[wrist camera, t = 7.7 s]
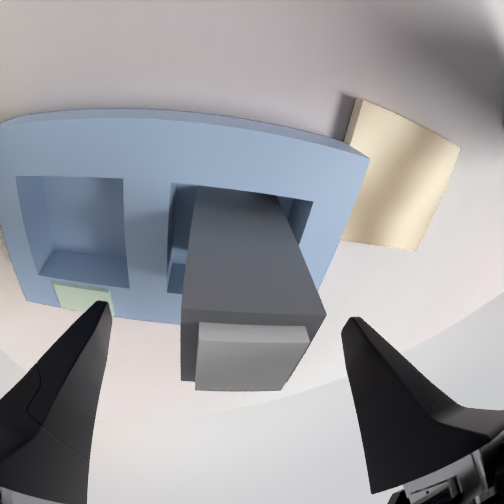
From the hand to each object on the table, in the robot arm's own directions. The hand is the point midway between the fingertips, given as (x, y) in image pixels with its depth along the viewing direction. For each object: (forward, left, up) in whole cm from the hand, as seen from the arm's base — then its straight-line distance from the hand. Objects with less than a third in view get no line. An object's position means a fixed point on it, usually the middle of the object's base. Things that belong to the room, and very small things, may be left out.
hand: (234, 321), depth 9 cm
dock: (+4, 0, -7) cm, 8 cm away
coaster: (-9, -4, -7) cm, 12 cm away
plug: (0, 0, -6) cm, 7 cm away
